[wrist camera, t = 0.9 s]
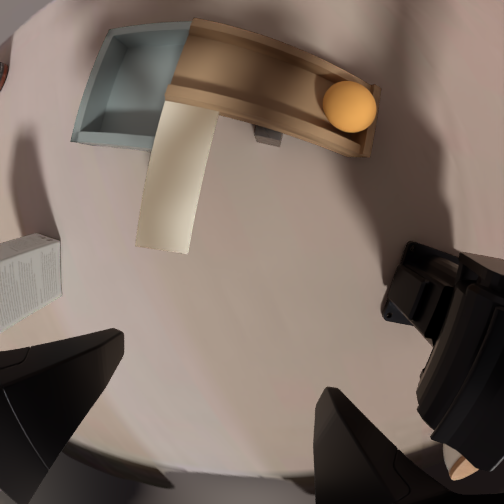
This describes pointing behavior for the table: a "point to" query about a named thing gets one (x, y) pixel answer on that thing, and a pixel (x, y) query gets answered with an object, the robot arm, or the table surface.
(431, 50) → the table surface
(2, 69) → the supplement bottle
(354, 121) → the ball
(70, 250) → the table surface
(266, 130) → the fulcrum
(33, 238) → the skincare box
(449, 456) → the lidded jar
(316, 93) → the lever
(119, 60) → the tray
